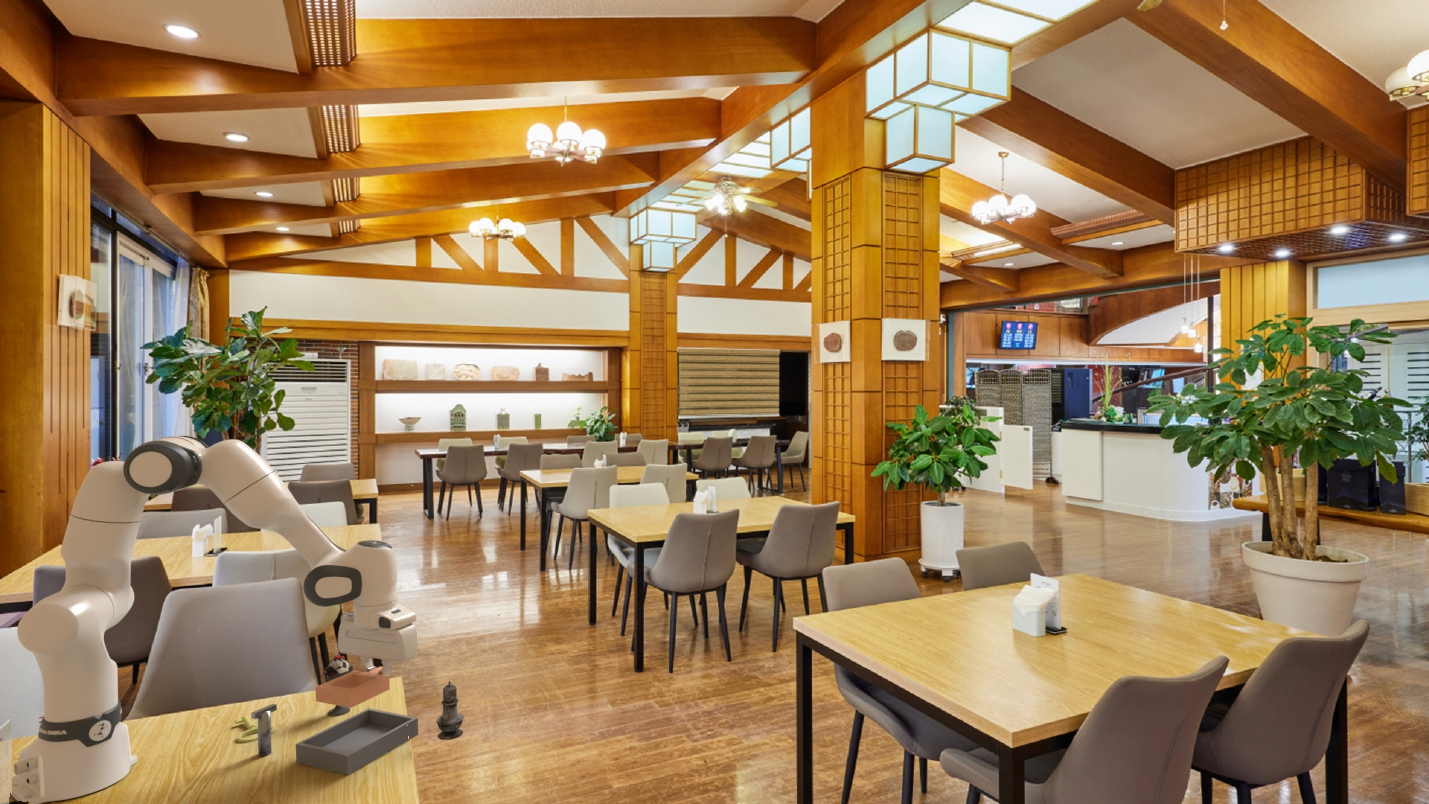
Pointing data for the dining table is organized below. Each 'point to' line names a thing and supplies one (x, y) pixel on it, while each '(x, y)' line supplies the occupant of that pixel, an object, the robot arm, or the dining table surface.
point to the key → (249, 730)
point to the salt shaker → (450, 715)
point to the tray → (356, 741)
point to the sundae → (334, 671)
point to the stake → (264, 728)
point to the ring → (353, 688)
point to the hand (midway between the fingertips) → (377, 676)
